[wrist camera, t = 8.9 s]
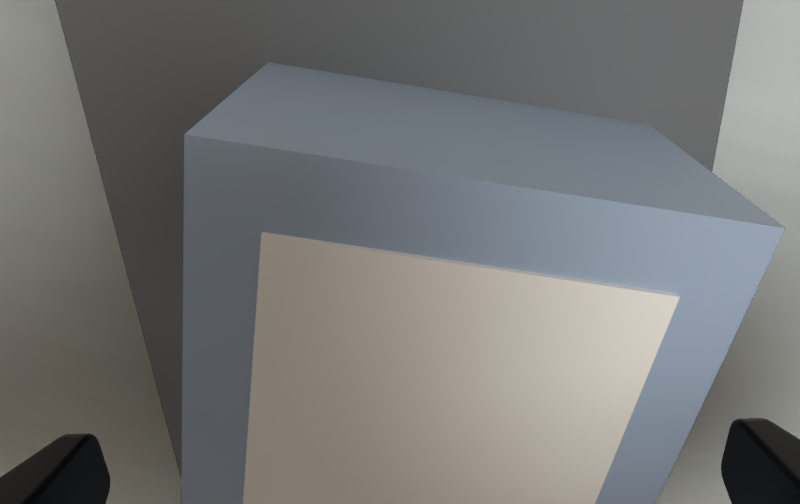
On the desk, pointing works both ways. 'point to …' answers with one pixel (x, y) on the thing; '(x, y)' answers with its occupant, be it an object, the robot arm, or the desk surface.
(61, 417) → the desk surface
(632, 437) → the card deck
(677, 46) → the mat
